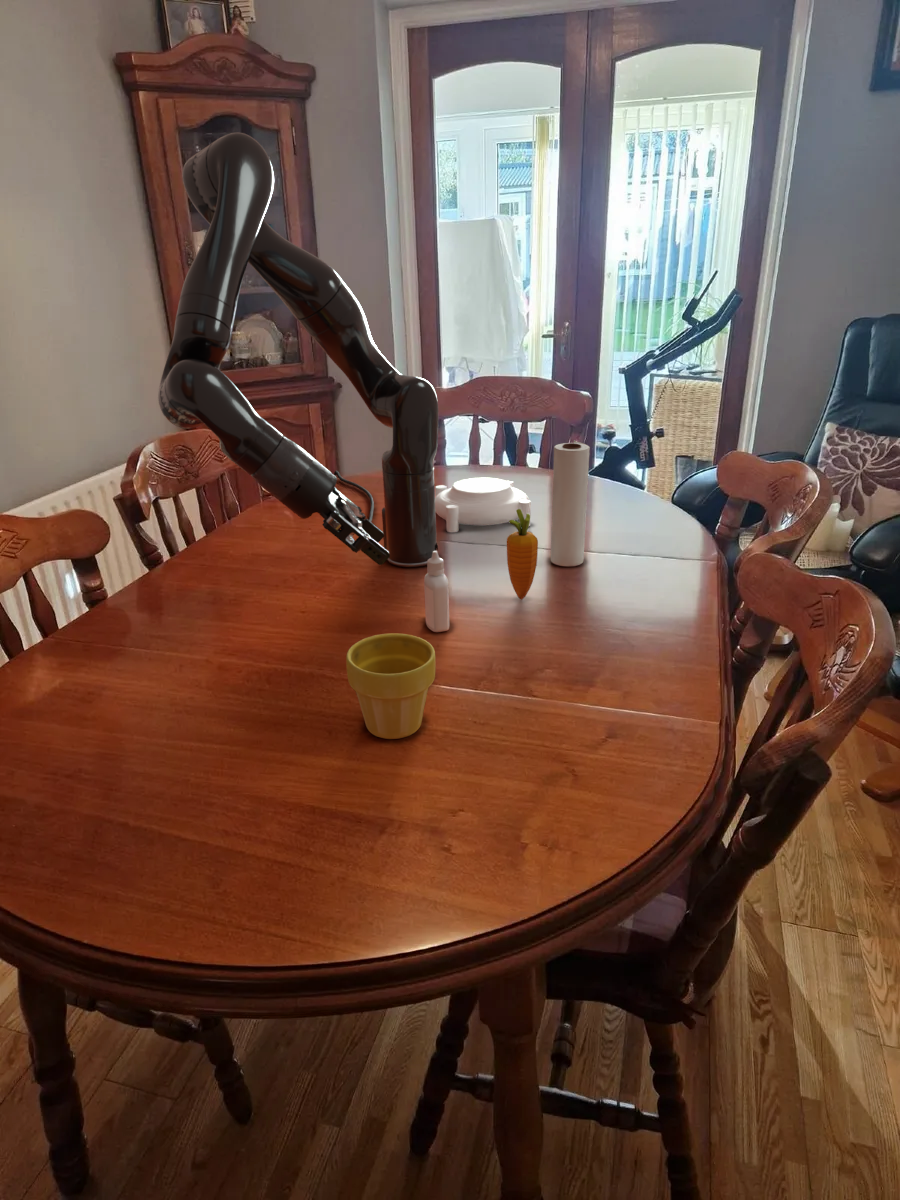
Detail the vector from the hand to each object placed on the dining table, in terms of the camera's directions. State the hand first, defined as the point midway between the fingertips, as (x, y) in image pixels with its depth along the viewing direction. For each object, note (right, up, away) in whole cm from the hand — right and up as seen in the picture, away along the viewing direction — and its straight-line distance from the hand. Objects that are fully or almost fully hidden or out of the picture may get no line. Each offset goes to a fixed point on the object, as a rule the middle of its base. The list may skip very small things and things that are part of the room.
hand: (382, 549), depth 109 cm
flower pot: (+3, -22, -18) cm, 29 cm away
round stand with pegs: (+17, +11, +55) cm, 58 cm away
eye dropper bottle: (+8, -11, +6) cm, 15 cm away
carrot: (+21, -7, +15) cm, 27 cm away
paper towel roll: (+32, 0, +30) cm, 43 cm away
